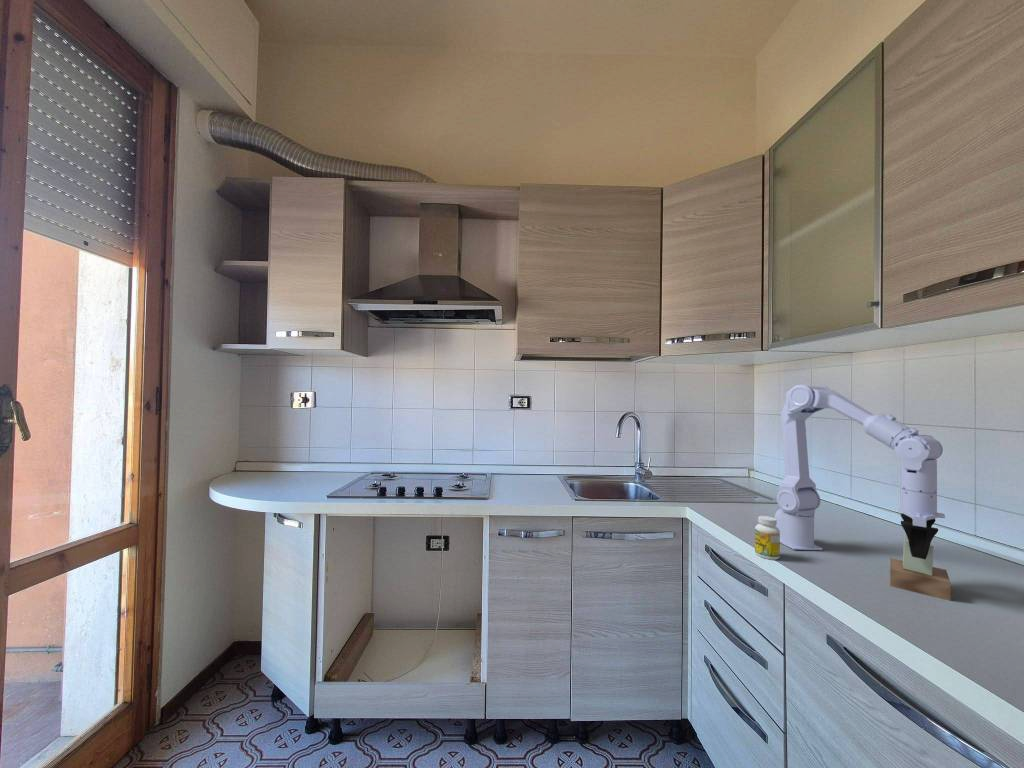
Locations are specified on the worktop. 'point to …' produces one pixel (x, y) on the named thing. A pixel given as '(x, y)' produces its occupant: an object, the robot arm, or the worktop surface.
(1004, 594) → the worktop surface
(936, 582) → the walnut block
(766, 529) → the supplement bottle
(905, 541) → the sage brick
